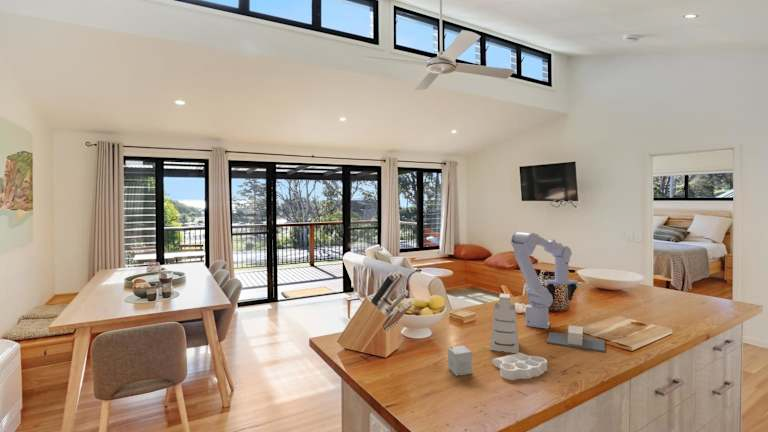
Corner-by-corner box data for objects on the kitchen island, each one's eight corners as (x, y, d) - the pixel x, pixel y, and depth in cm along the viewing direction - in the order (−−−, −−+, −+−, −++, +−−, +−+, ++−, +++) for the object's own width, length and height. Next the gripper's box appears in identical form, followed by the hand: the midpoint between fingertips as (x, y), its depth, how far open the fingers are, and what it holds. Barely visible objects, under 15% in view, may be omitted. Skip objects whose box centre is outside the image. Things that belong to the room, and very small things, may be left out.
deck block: (568, 335, 157) (569, 325, 157) (582, 338, 155) (582, 327, 154) (567, 343, 149) (567, 332, 149) (582, 345, 147) (582, 334, 146)
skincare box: (472, 373, 126) (472, 351, 126) (455, 376, 124) (455, 354, 124) (463, 366, 132) (463, 345, 132) (447, 368, 130) (447, 347, 130)
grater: (518, 343, 152) (519, 293, 151) (518, 353, 142) (519, 300, 141) (491, 340, 155) (491, 291, 154) (489, 350, 145) (489, 298, 144)
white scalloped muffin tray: (524, 357, 139) (557, 374, 126) (484, 367, 131) (515, 386, 118) (524, 348, 139) (557, 364, 125) (484, 357, 131) (515, 375, 118)
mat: (546, 343, 151) (546, 341, 151) (549, 333, 162) (549, 331, 162) (604, 352, 142) (604, 350, 142) (604, 341, 152) (604, 339, 152)
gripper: (549, 273, 174) (548, 302, 175) (581, 272, 173) (581, 302, 174) (543, 270, 181) (542, 298, 182) (574, 269, 180) (574, 298, 181)
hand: (561, 300), depth 178 cm, fingers open, 7 cm apart
